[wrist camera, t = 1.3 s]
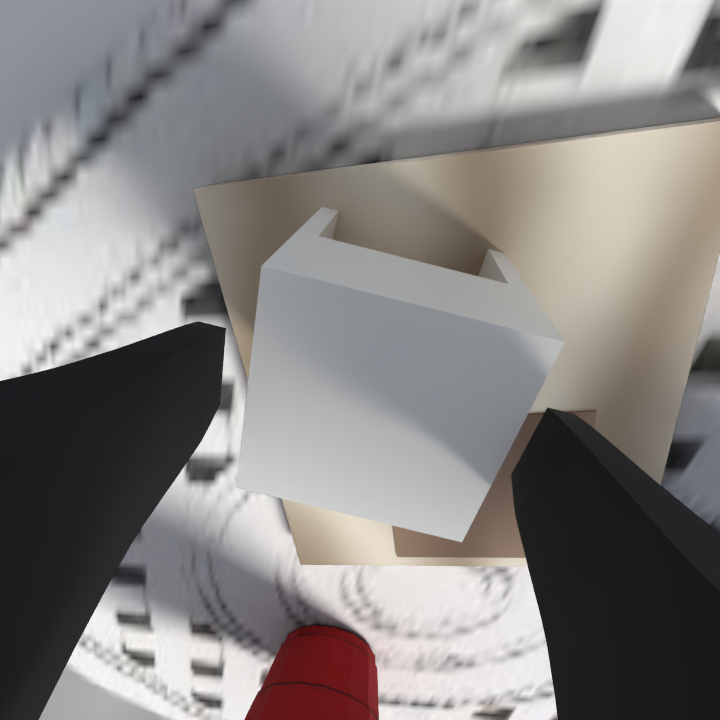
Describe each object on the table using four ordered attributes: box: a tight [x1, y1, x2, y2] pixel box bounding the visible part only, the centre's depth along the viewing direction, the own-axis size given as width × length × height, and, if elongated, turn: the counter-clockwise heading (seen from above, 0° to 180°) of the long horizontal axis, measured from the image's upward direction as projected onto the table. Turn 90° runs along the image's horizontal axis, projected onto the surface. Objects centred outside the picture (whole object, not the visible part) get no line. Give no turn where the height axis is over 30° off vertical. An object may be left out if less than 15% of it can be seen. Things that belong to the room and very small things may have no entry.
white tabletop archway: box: [236, 207, 565, 542], centre depth 12 cm, size 6×6×6 cm
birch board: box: [193, 117, 720, 567], centre depth 17 cm, size 15×17×1 cm
